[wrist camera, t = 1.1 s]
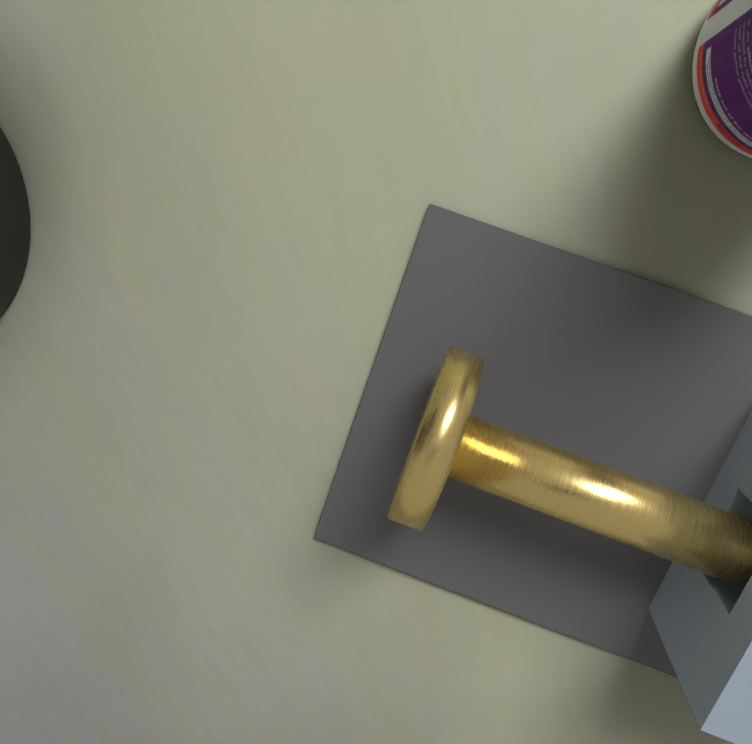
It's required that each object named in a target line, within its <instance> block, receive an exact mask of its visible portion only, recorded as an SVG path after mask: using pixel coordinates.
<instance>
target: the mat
mask: <svg viewBox="0 0 752 744" xmlns="http://www.w3.org/2000/svg"><path fill="white" fill-rule="evenodd" d="M449 346H452V347H454V348H457V349H460V350H463V351H465V352H468V353H471V354H474V355H476V356H479V357H482V358H484V365H483V371H482V375H481V379H480V383H479V387H478V391H477V394H476V397H475V401H474V404H473V407H472V410H471V414H470V416H473V417H475V418H478V419H481V420H483V421H486V422H489V423H492V424H494V425H497V426H500V427H503V428H505V429H508V430H511V431H513V432H516V433H519V434H522V435H524V436H527V437H530V438H532V439H535V440H538V441H541V442H543V443H546V444H549V445H551V446H554V447H557V448H560V449H562V450H565V451H568V452H570V453H573V454H576V455H579V456H581V457H584V458H587V459H589V460H592V461H595V462H598V463H600V464H603V465H606V466H608V467H611V468H614V469H617V470H619V471H622V472H625V473H628V474H630V475H633V476H636V477H638V478H641V479H644V480H647V481H649V482H652V483H655V484H657V485H660V486H663V487H666V488H668V489H671V490H674V491H676V492H679V493H682V494H685V495H687V496H690V497H693V498H695V499H698V500H701V501H705V499H706V497H707V495H708V493H709V491H710V489H711V487H712V485H713V483H714V481H715V479H716V477H717V476H718V474H719V472H720V470H721V468H722V466H723V464H724V462H725V460H726V458H727V456H728V454H729V452H730V451H731V449H732V447H733V445H734V443H735V441H736V439H737V437H738V435H739V433H740V431H741V429H742V428H743V426H744V424H745V422H746V420H747V418H748V416H749V414H750V412H751V410H752V316H749V315H746V314H743V313H740V312H737V311H734V310H732V309H729V308H726V307H723V306H720V305H717V304H714V303H712V302H709V301H706V300H703V299H700V298H697V297H695V296H692V295H689V294H686V293H683V292H680V291H677V290H675V289H672V288H669V287H666V286H663V285H660V284H657V283H655V282H652V281H649V280H646V279H643V278H640V277H637V276H635V275H632V274H629V273H626V272H623V271H620V270H618V269H615V268H612V267H609V266H606V265H603V264H600V263H598V262H595V261H592V260H589V259H586V258H583V257H580V256H578V255H575V254H572V253H569V252H566V251H563V250H560V249H558V248H555V247H552V246H549V245H546V244H543V243H540V242H538V241H535V240H532V239H529V238H526V237H523V236H521V235H518V234H515V233H512V232H509V231H506V230H503V229H501V228H498V227H495V226H492V225H489V224H486V223H483V222H481V221H478V220H475V219H472V218H469V217H466V216H463V215H461V214H458V213H455V212H452V211H449V210H446V209H444V208H441V207H438V206H435V205H432V204H430V205H429V208H428V211H427V213H426V216H425V219H424V222H423V225H422V228H421V231H420V234H419V236H418V239H417V242H416V245H415V248H414V251H413V254H412V257H411V259H410V262H409V265H408V268H407V271H406V274H405V277H404V280H403V282H402V285H401V288H400V291H399V294H398V297H397V300H396V303H395V305H394V308H393V311H392V314H391V317H390V320H389V323H388V326H387V328H386V331H385V334H384V337H383V340H382V343H381V346H380V349H379V352H378V354H377V357H376V360H375V363H374V366H373V369H372V372H371V375H370V377H369V380H368V383H367V386H366V389H365V392H364V395H363V398H362V400H361V403H360V406H359V409H358V412H357V415H356V418H355V421H354V423H353V426H352V429H351V432H350V435H349V438H348V441H347V444H346V446H345V449H344V452H343V455H342V458H341V461H340V464H339V467H338V469H337V472H336V475H335V478H334V481H333V484H332V487H331V490H330V492H329V495H328V498H327V501H326V504H325V507H324V510H323V513H322V516H321V518H320V521H319V524H318V527H317V530H316V533H315V536H314V538H316V539H318V540H321V541H324V542H326V543H329V544H331V545H334V546H337V547H339V548H342V549H344V550H347V551H350V552H352V553H355V554H357V555H360V556H363V557H365V558H368V559H370V560H373V561H376V562H378V563H381V564H384V565H386V566H389V567H391V568H394V569H397V570H399V571H402V572H404V573H407V574H410V575H412V576H415V577H417V578H420V579H423V580H425V581H428V582H430V583H433V584H436V585H438V586H441V587H443V588H446V589H449V590H451V591H454V592H456V593H459V594H462V595H464V596H467V597H469V598H472V599H475V600H477V601H480V602H482V603H485V604H488V605H490V606H493V607H495V608H498V609H501V610H503V611H506V612H508V613H511V614H514V615H516V616H519V617H521V618H524V619H527V620H529V621H532V622H535V623H537V624H540V625H542V626H545V627H548V628H550V629H553V630H555V631H558V632H561V633H563V634H566V635H568V636H571V637H574V638H576V639H579V640H581V641H584V642H587V643H589V644H592V645H594V646H597V647H600V648H602V649H605V650H607V651H610V652H613V653H615V654H618V655H620V656H623V657H626V658H628V659H631V660H633V661H636V662H639V663H641V664H644V665H646V666H649V667H652V668H654V669H657V670H659V671H662V672H665V673H667V674H670V675H672V676H675V677H677V675H676V672H675V670H674V668H673V665H672V663H671V661H670V658H669V656H668V654H667V651H666V649H665V647H664V644H663V642H662V640H661V637H660V635H659V633H658V630H657V628H656V626H655V623H654V621H653V619H652V616H651V614H650V612H649V609H648V608H649V606H650V604H651V602H652V600H653V598H654V597H655V595H656V593H657V591H658V589H659V587H660V585H661V583H662V581H663V579H664V577H665V575H666V574H667V572H668V570H669V568H670V566H671V564H672V561H670V560H667V559H664V558H662V557H659V556H656V555H654V554H651V553H648V552H646V551H643V550H640V549H638V548H635V547H632V546H630V545H627V544H624V543H622V542H619V541H616V540H614V539H611V538H608V537H606V536H603V535H600V534H598V533H595V532H592V531H590V530H587V529H584V528H582V527H579V526H576V525H574V524H571V523H568V522H566V521H563V520H560V519H558V518H555V517H552V516H550V515H547V514H544V513H542V512H539V511H536V510H533V509H531V508H528V507H525V506H523V505H520V504H517V503H515V502H512V501H509V500H507V499H504V498H501V497H499V496H496V495H493V494H491V493H488V492H485V491H483V490H480V489H477V488H475V487H472V486H469V485H467V484H464V483H461V482H459V481H456V480H453V479H451V478H447V480H446V483H445V485H444V487H443V490H442V492H441V495H440V497H439V499H438V502H437V504H436V506H435V508H434V510H433V512H432V514H431V517H430V518H429V520H428V522H427V524H426V526H425V527H424V529H423V530H422V531H419V530H416V529H413V528H411V527H408V526H406V525H403V524H400V523H398V522H395V521H392V520H390V519H387V513H388V509H389V506H390V503H391V500H392V497H393V494H394V490H395V487H396V484H397V482H398V479H399V476H400V473H401V470H402V467H403V464H404V461H405V458H406V456H407V453H408V450H409V447H410V444H411V442H412V439H413V436H414V433H415V431H416V428H417V425H418V422H419V420H420V417H421V414H422V412H423V409H424V406H425V404H426V401H427V398H428V396H429V393H430V391H431V388H432V385H433V383H434V380H435V378H436V375H437V373H438V370H439V368H440V365H441V363H442V360H443V358H444V356H445V353H446V351H447V349H448V347H449Z"/></svg>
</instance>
